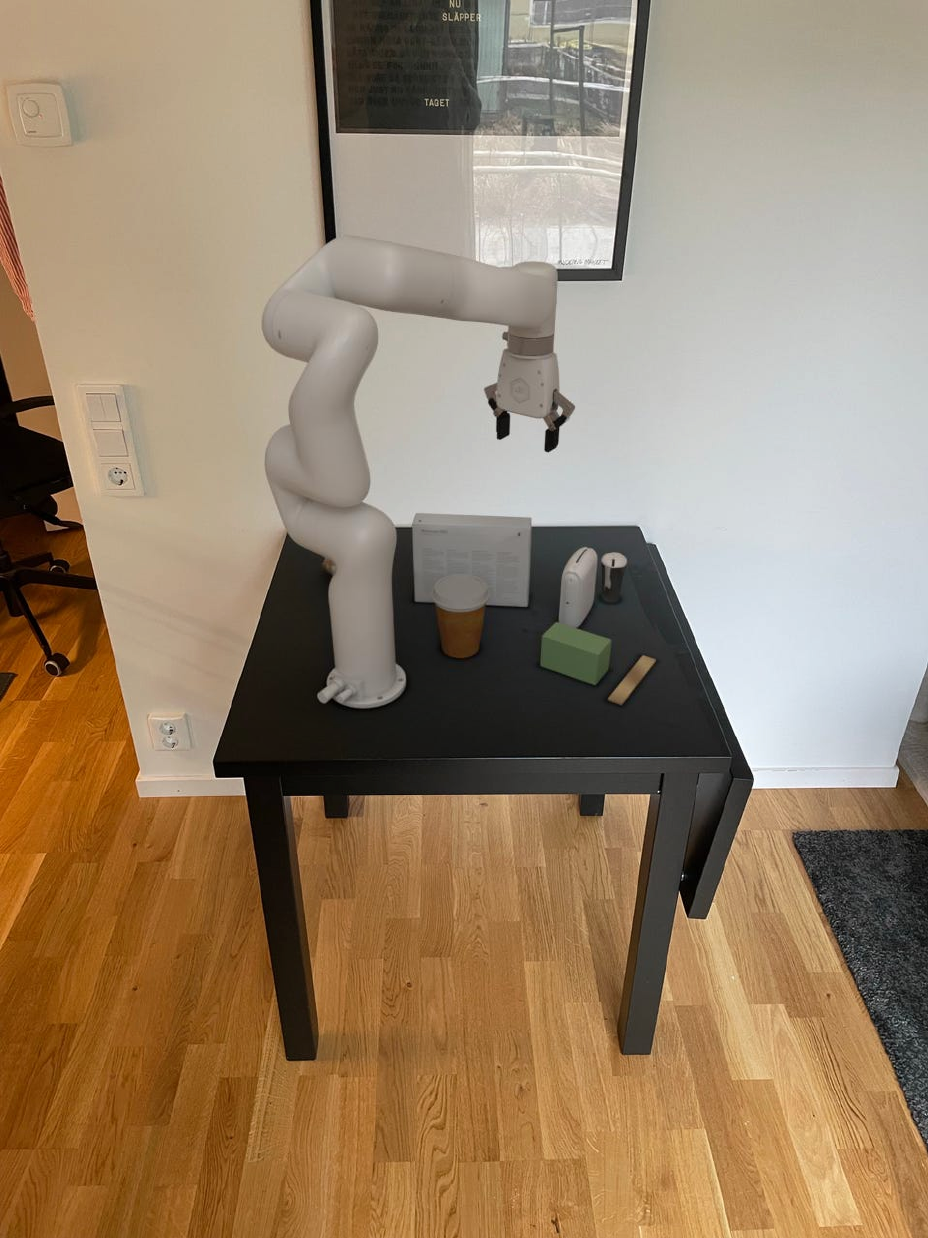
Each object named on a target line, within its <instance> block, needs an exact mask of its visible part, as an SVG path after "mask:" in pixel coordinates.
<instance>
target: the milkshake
mask: <svg viewBox="0 0 928 1238" xmlns="http://www.w3.org/2000/svg"><path fill="white" fill-rule="evenodd" d="M600 561H601V565H600V566H601V594H600V595H601V598H600V599H601V600H602V601H603V602H605V603H609V604H616V603H617V602H620V601H619V600H620V597H621V590H622V586H623V585H622V584H623V580H624V576H625V572H626V568H627V563H628V560H627V557H626V556H625V555H623V554H622V553H620V552H613V551H612V552H607V553H604V555H602V556H601V559H600Z"/></svg>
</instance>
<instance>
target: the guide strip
mask: <svg viewBox="0 0 928 1238" xmlns="http://www.w3.org/2000/svg"><path fill="white" fill-rule="evenodd" d="M656 662H657V659H656V658H653V657H650V656H646V655H642V656H641V657H640V658H639V659H638V660H637V662H636V663H635V664H634V665H633V667H632V668H631V670H629V672H628V673H627V674H626V676H625V677H624V678H623V679H622V681H620V682H619V684H618V685H617V686H616V688H615V689H614V690H613V691H612V693H611V694H610V695H609V696H608V698H607V701H609V702H611V703H615V704H617V705H620V706H623V704H624V703H625V702H626V701H627V699H628V698H629V697H630V695H632V693H633V691H634V690H635V689H636V688H637V687H638V685H639V684H640V683H641V681H642V680H643V678H645V676H646V674H648V672H649V671H650V670H651V668H653V666H654V665H655V663H656Z"/></svg>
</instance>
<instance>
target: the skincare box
mask: <svg viewBox="0 0 928 1238" xmlns="http://www.w3.org/2000/svg"><path fill="white" fill-rule="evenodd" d="M532 520H533V519H532V517H529V516H503V515H478V514H451V513H449V514H448V513H424V512H416V513H415V514H414V517H413V519H412V522H411V528H412V529H411V531H412V532H411V533H412V536H411V537H412V567H413V568H412V569H413V591H414V594H413V595H414V602H415V603H434V600H433V598H432V594H431V593H432V590H433V588H434V586H435V583H436V582H437V581H438V580H439V579H441V578H443V577H445V576H449V575H453V574H467V575H472V576H476V577H478V578H480V579H482V580H483V581H484V582H485V584H486V586H487V589H488V590H489V594H490V595H489V599H488V600H487V602H486V606H496V607H517V608H518V607H519V608H528V607H529V601H530V585H531V584H530V583H531V582H530V580H531V555H532ZM434 604H435V603H434Z"/></svg>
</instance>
